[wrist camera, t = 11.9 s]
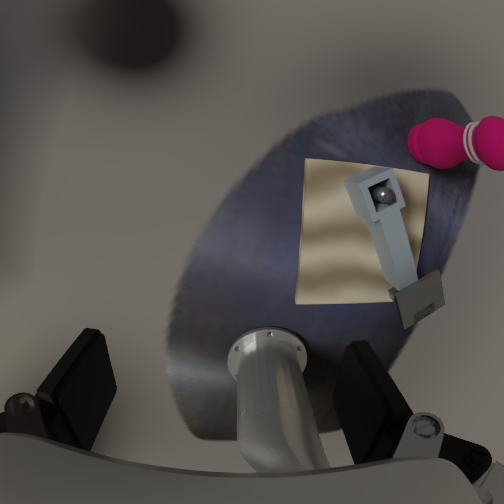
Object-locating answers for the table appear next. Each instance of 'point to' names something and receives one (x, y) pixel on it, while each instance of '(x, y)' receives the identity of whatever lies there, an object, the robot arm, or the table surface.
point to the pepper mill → (458, 143)
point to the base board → (348, 235)
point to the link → (384, 224)
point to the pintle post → (381, 193)
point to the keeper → (418, 298)
